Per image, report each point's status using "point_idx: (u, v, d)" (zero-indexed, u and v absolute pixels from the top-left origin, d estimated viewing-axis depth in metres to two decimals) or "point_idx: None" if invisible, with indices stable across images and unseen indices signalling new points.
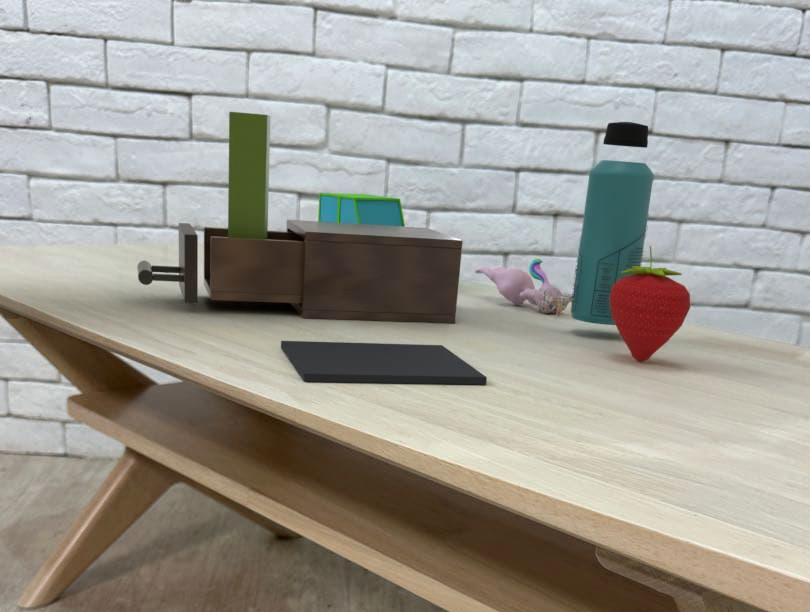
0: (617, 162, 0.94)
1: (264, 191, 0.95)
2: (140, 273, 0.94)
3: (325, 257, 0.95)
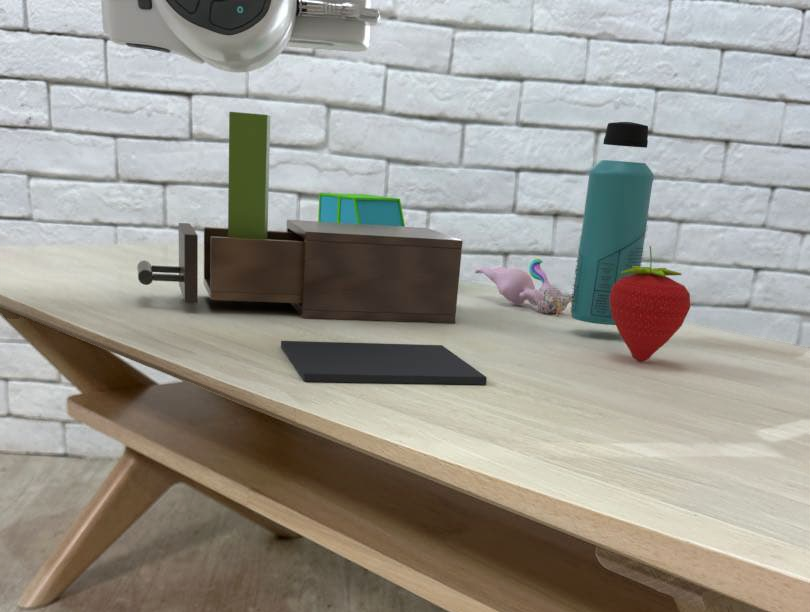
0: (617, 162, 0.94)
1: (264, 191, 0.95)
2: (140, 273, 0.94)
3: (325, 257, 0.95)
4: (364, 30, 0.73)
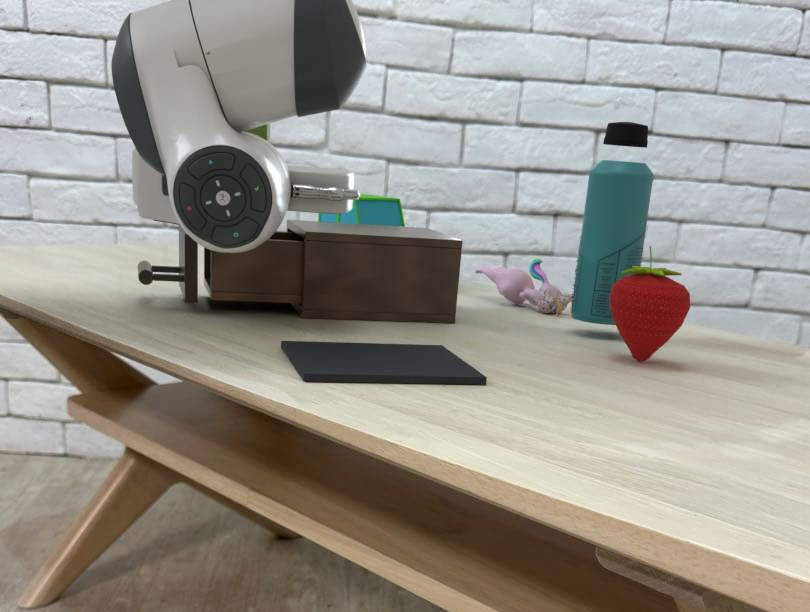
0: (617, 162, 0.94)
1: None
2: (140, 273, 0.94)
3: (325, 257, 0.95)
4: (347, 203, 0.89)
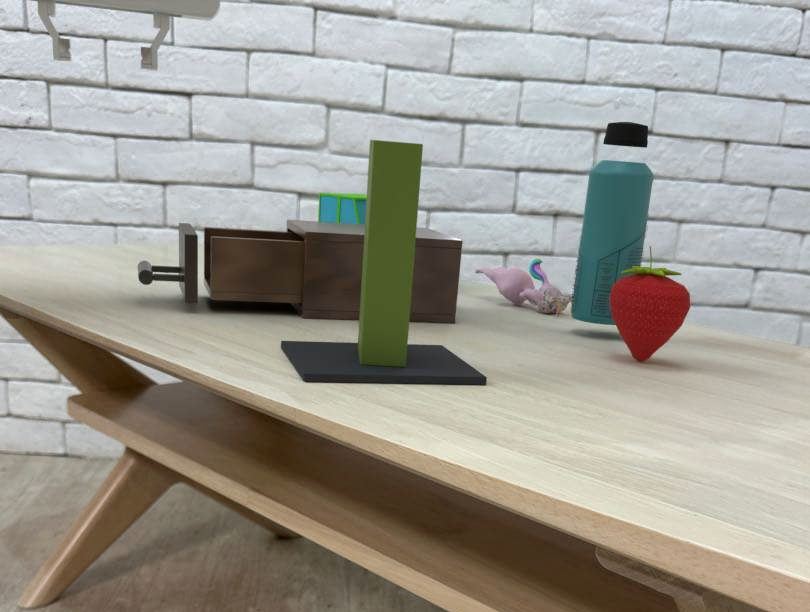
0: (617, 162, 0.94)
1: (413, 242, 0.73)
2: (140, 273, 0.94)
3: (325, 257, 0.95)
4: None
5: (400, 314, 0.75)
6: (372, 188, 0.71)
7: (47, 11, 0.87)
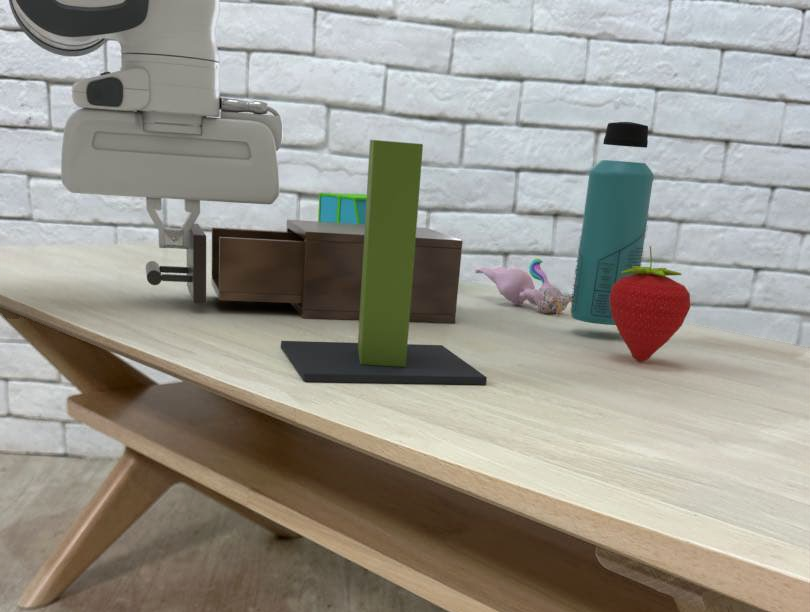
0: (617, 162, 0.94)
1: (413, 242, 0.73)
2: (149, 273, 0.95)
3: (325, 257, 0.95)
4: None
5: (400, 314, 0.75)
6: (372, 188, 0.71)
7: (155, 207, 0.95)
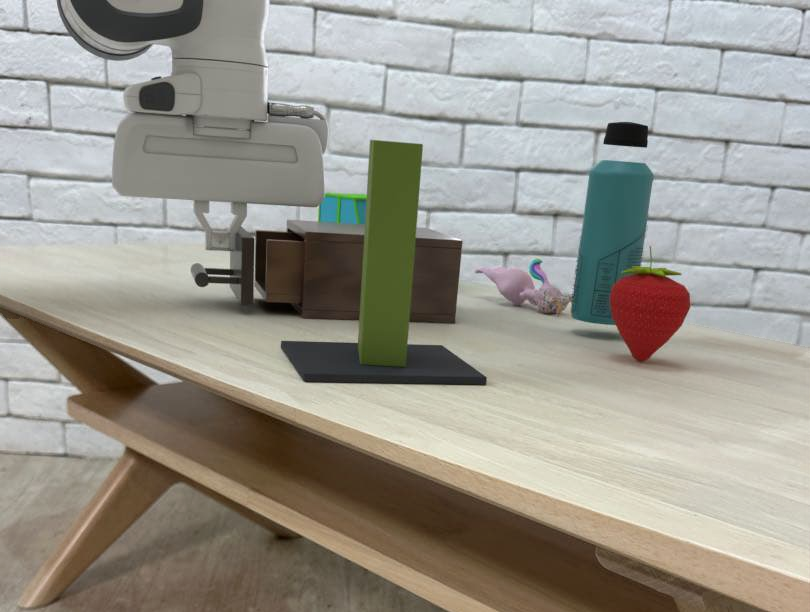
0: (617, 162, 0.94)
1: (413, 242, 0.73)
2: (197, 275, 0.96)
3: (325, 257, 0.95)
4: None
5: (400, 314, 0.75)
6: (372, 188, 0.71)
7: (203, 210, 0.96)
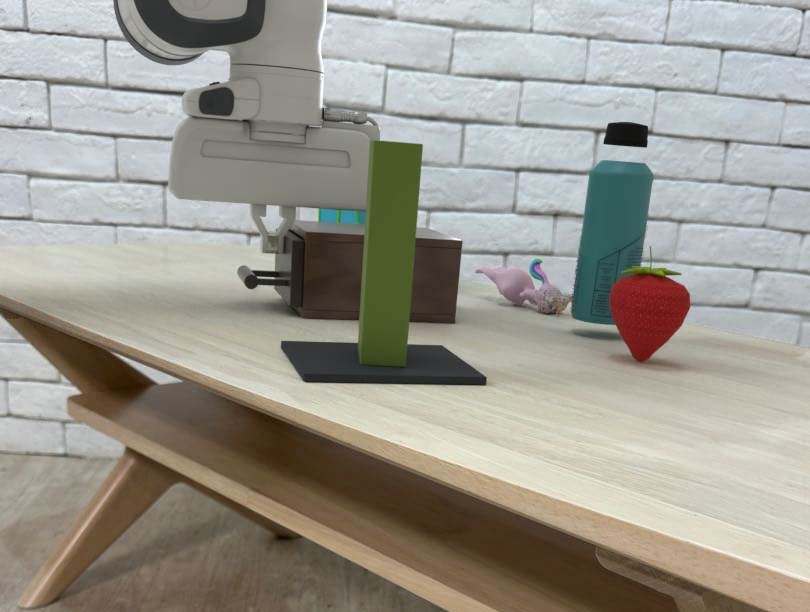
0: (617, 162, 0.94)
1: (413, 242, 0.73)
2: (246, 278, 0.97)
3: (325, 257, 0.95)
4: None
5: (400, 314, 0.75)
6: (372, 188, 0.71)
7: (260, 214, 0.97)
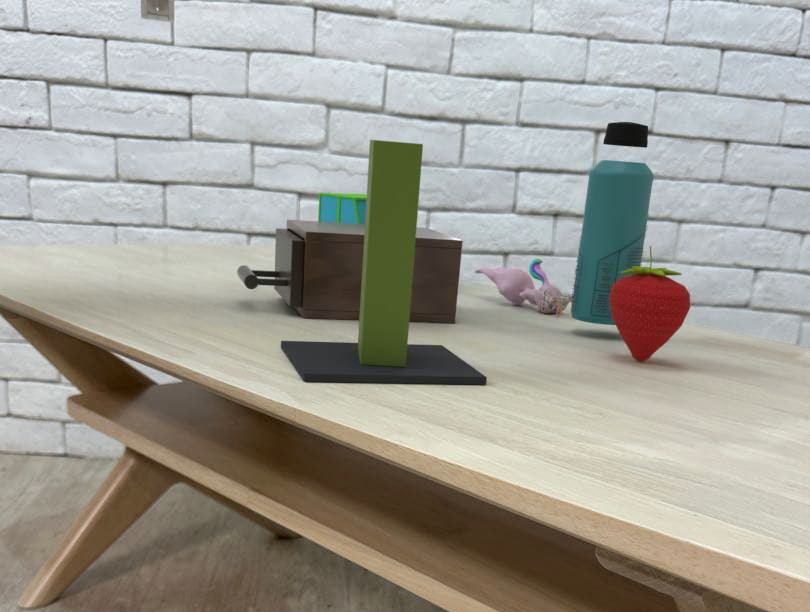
0: (617, 162, 0.94)
1: (413, 242, 0.73)
2: (246, 278, 0.97)
3: (325, 257, 0.95)
4: None
5: (400, 314, 0.75)
6: (372, 188, 0.71)
7: None
